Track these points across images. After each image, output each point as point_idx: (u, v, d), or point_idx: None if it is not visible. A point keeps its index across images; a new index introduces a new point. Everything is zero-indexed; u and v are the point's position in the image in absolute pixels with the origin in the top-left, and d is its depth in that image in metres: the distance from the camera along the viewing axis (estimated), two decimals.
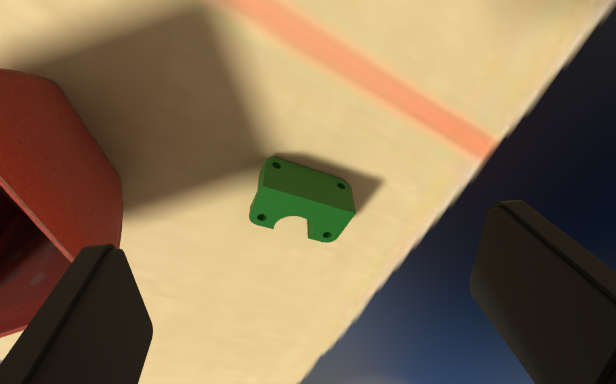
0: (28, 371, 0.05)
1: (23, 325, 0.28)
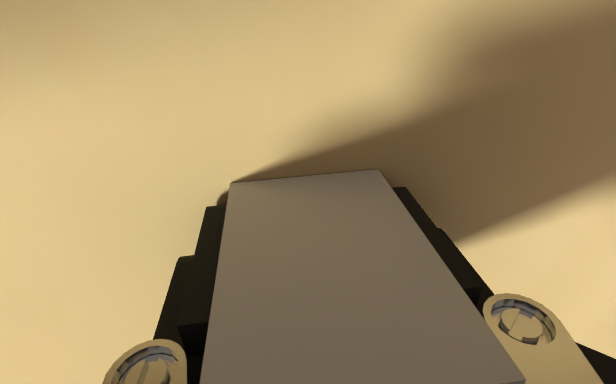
0: (212, 289, 0.06)
1: None
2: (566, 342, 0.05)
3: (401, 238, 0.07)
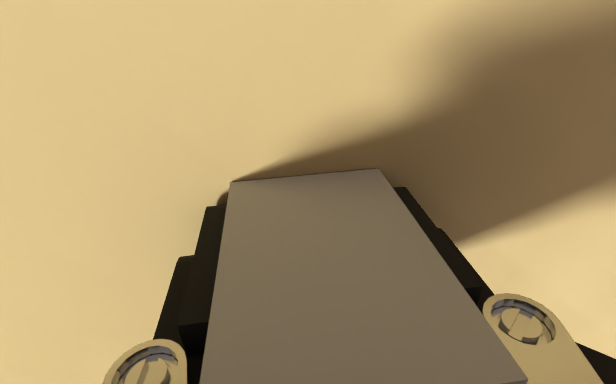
0: (212, 289, 0.06)
1: None
2: (566, 342, 0.05)
3: (402, 237, 0.07)
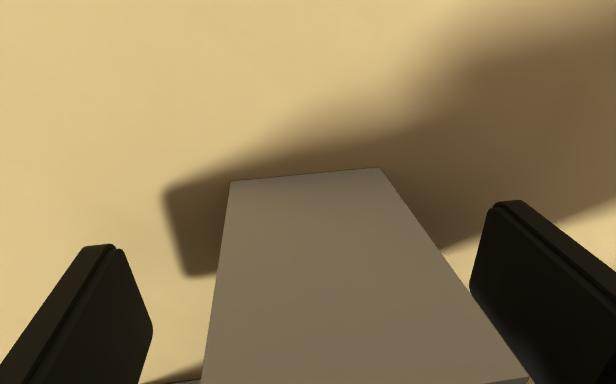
0: (30, 370, 0.05)
1: None
2: None
3: (403, 236, 0.07)
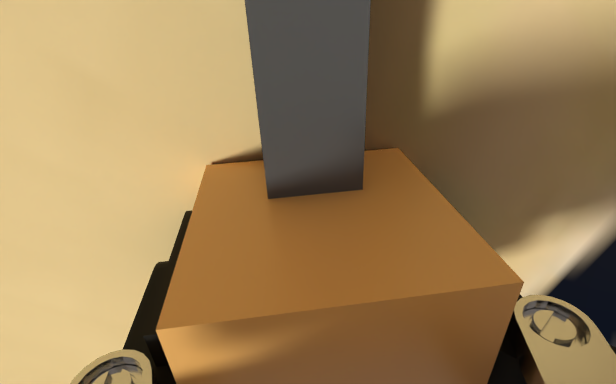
0: None
1: None
2: (601, 347, 0.05)
3: None
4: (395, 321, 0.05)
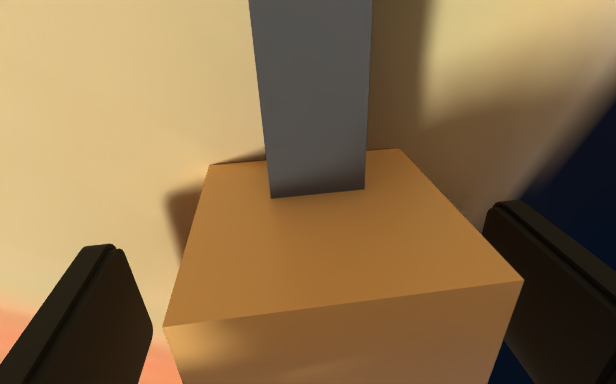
0: (29, 371, 0.05)
1: None
2: None
3: None
4: (398, 318, 0.05)
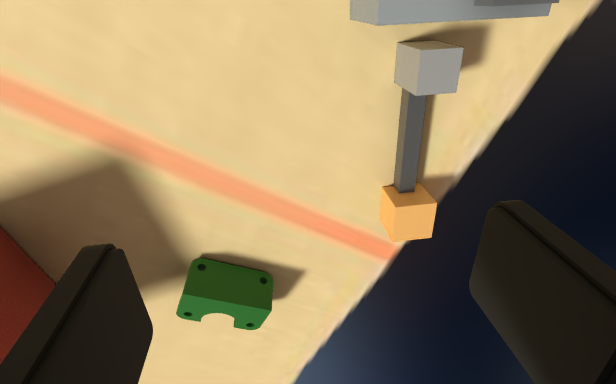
0: (28, 371, 0.05)
1: None
2: None
3: (443, 44, 0.33)
4: (421, 208, 0.40)
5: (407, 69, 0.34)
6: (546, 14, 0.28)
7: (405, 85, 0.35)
